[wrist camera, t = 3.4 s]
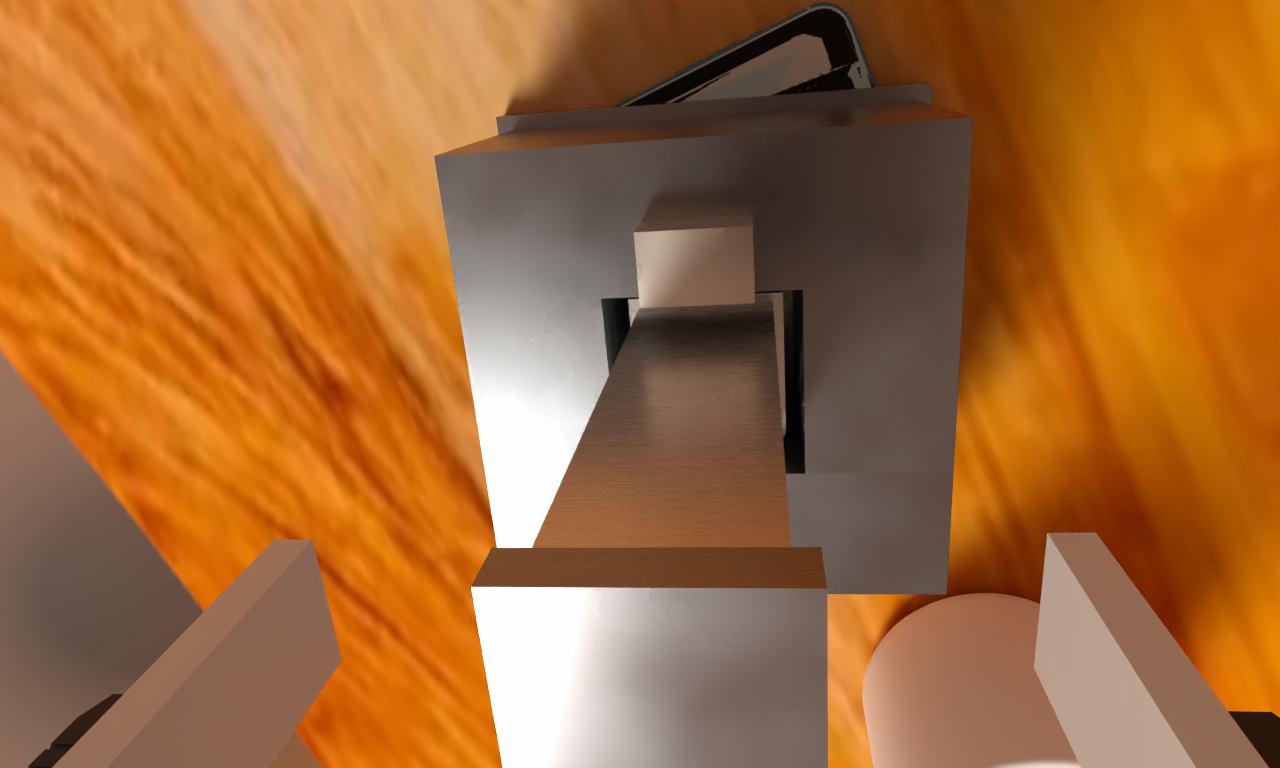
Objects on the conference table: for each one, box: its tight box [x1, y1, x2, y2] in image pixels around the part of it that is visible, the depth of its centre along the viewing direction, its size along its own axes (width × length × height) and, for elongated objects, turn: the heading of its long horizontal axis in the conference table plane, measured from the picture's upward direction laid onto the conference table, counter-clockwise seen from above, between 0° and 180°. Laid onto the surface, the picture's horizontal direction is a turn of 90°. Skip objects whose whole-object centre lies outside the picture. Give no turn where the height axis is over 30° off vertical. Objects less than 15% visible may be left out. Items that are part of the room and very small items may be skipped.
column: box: [471, 291, 828, 768], centre depth 22 cm, size 5×5×21 cm
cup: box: [863, 593, 1081, 768], centre depth 33 cm, size 10×10×10 cm
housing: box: [434, 82, 973, 594], centre depth 28 cm, size 15×15×10 cm
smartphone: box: [614, 3, 877, 107], centre depth 32 cm, size 7×1×15 cm
